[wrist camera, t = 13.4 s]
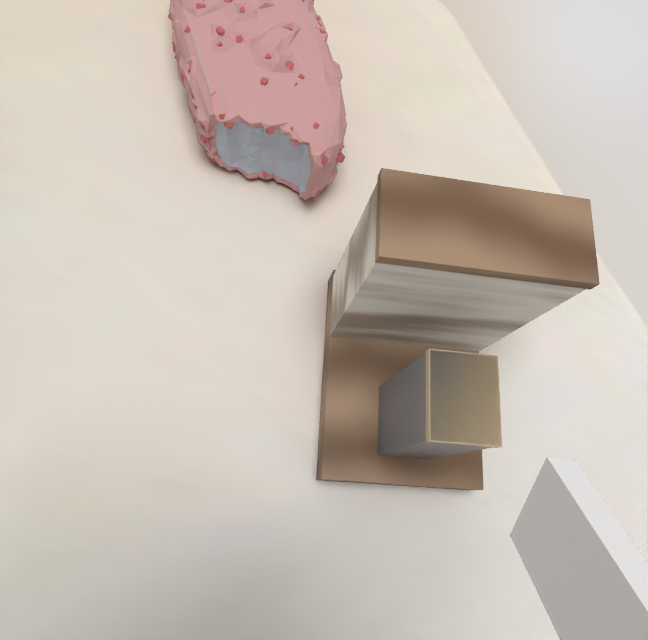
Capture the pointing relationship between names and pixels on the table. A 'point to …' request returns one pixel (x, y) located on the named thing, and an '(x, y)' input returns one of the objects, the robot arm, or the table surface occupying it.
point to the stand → (437, 303)
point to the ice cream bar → (262, 88)
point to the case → (441, 406)
